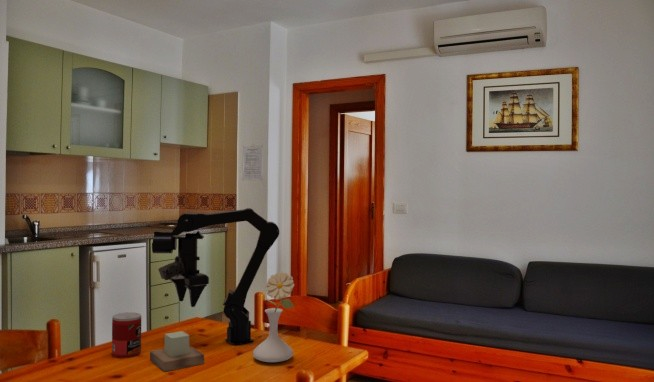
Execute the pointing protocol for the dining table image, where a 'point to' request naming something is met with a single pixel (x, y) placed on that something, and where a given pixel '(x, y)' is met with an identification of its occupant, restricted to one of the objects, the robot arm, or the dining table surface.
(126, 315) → the canned food
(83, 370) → the dining table surface
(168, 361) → the base
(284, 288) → the flower in vase
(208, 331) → the dining table surface
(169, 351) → the cube
